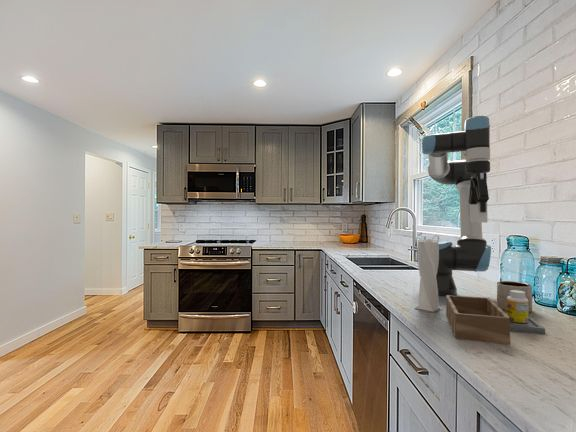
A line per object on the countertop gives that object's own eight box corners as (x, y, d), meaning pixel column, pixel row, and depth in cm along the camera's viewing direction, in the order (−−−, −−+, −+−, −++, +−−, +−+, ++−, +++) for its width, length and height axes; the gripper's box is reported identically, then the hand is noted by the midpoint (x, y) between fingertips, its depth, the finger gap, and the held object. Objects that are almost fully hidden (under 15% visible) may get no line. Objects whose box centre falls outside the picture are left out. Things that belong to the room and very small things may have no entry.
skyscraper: (444, 309, 121) (443, 234, 122) (436, 314, 116) (435, 235, 116) (422, 305, 127) (421, 234, 128) (413, 309, 122) (412, 235, 122)
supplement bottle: (505, 320, 106) (505, 288, 106) (525, 322, 104) (525, 290, 104) (509, 325, 101) (509, 292, 101) (530, 327, 99) (530, 294, 99)
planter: (538, 314, 115) (538, 287, 115) (504, 312, 117) (504, 286, 117) (523, 306, 126) (522, 281, 126) (492, 305, 128) (491, 280, 128)
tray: (492, 319, 110) (492, 314, 110) (531, 322, 106) (531, 317, 106) (501, 329, 99) (501, 324, 99) (545, 333, 96) (545, 328, 96)
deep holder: (445, 314, 115) (445, 295, 115) (489, 318, 110) (489, 298, 111) (455, 338, 93) (455, 313, 93) (511, 344, 88) (510, 318, 88)
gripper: (459, 167, 127) (460, 221, 127) (472, 156, 103) (472, 222, 103) (481, 166, 124) (482, 221, 124) (499, 154, 101) (500, 222, 101)
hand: (478, 222), depth 114 cm, fingers open, 13 cm apart
